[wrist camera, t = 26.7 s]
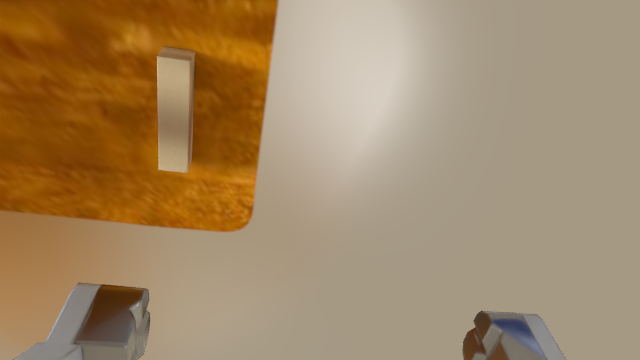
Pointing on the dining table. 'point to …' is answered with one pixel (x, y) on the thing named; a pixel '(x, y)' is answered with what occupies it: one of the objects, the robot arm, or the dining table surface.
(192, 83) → the beige rectangular block
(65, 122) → the dining table surface
